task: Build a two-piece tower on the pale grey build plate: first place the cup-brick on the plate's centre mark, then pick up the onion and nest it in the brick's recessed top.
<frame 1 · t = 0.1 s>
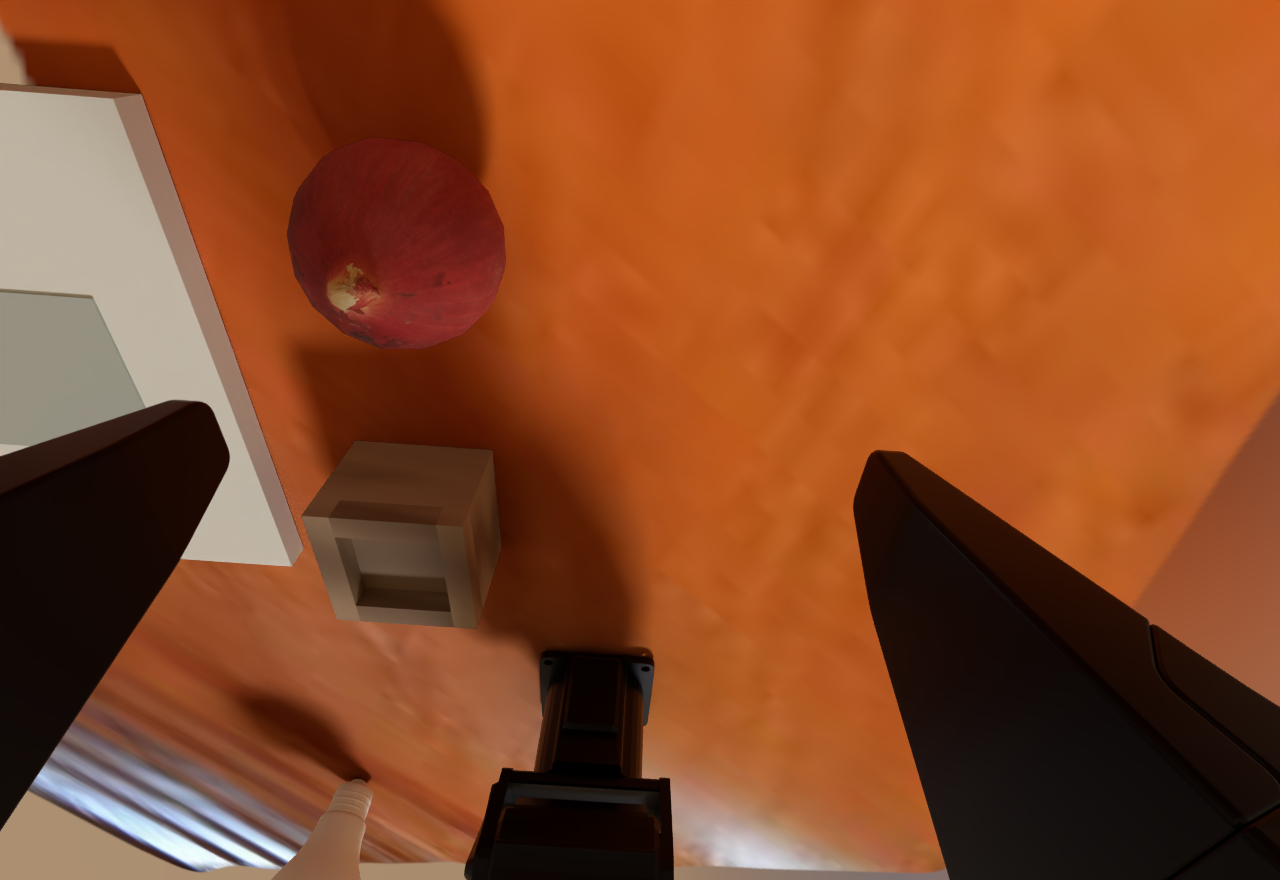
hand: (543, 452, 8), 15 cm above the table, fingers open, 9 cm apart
cup brick: (433, 495, 29), on the table
build plate: (68, 361, 25), on the table
lightbulb: (360, 777, 45), on the table
onion: (443, 212, 21), on the table
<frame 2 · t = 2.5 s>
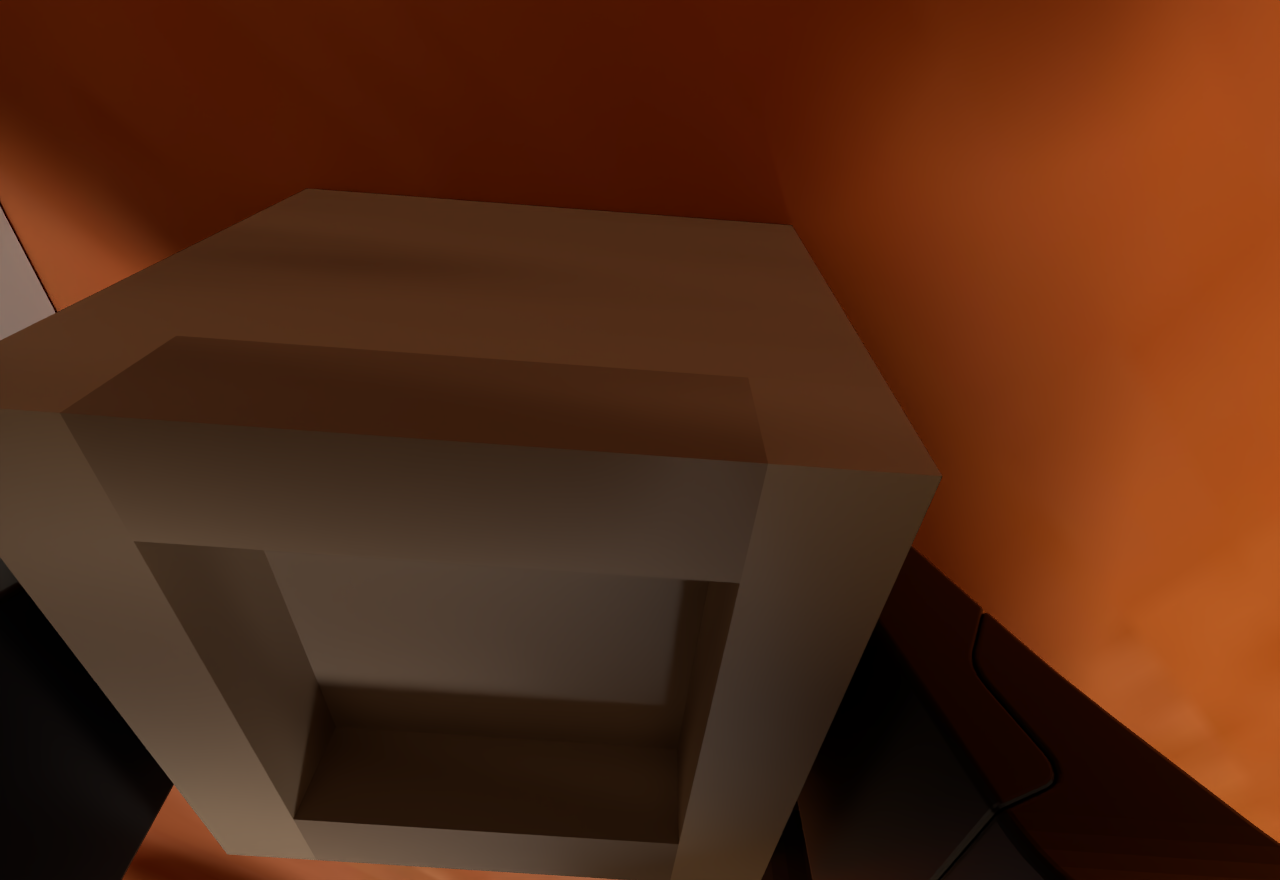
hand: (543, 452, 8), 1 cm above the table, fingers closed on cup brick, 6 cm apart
cup brick: (554, 411, 9), on the table, touching gripper
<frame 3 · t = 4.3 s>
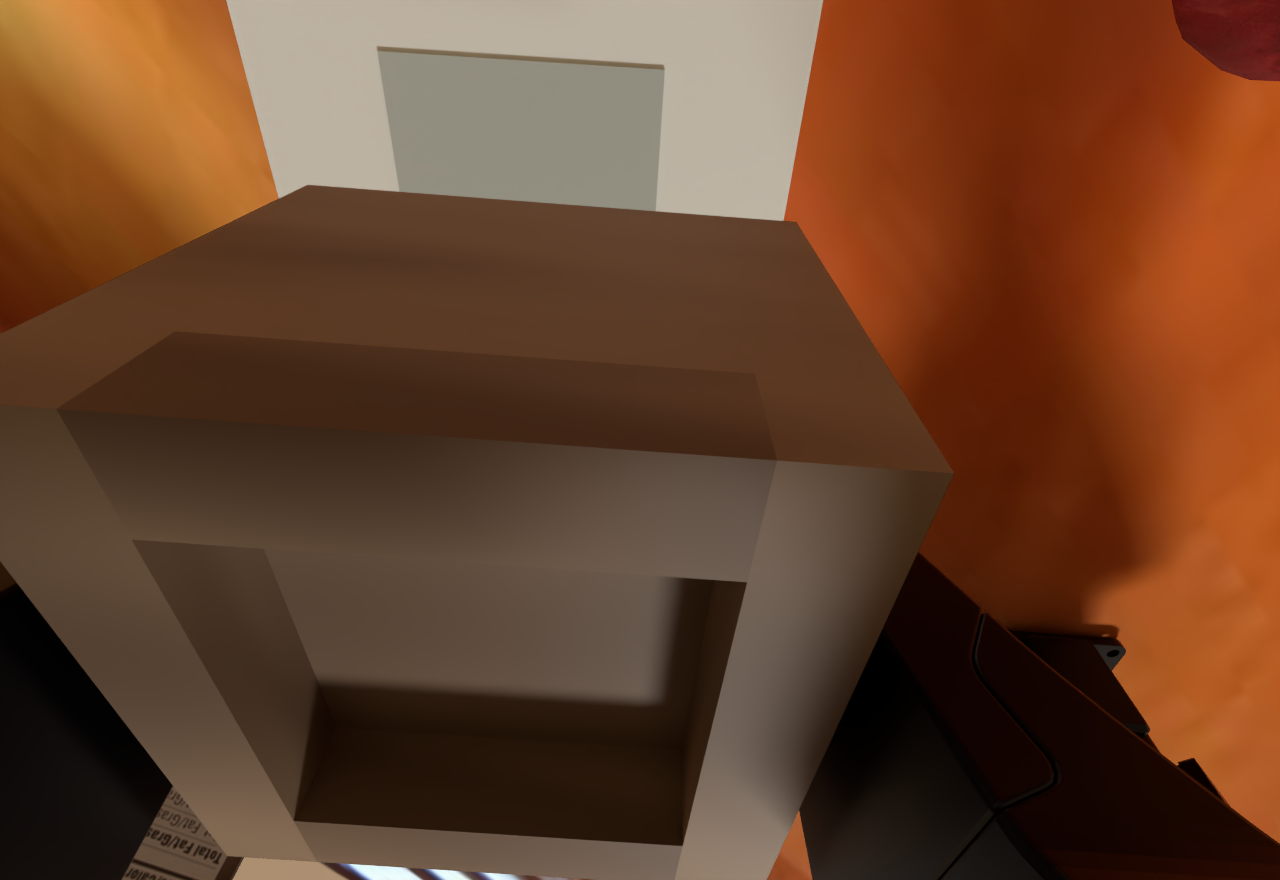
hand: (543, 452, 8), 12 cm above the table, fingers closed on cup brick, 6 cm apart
cup brick: (556, 409, 9), point 11 cm above the table, touching gripper
build plate: (536, 199, 18), on the table
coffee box: (317, 526, 26), on the table
when the fingers open (3 cm above the table, at t = 6.5 s): cup brick stays where it is, resting on build plate.
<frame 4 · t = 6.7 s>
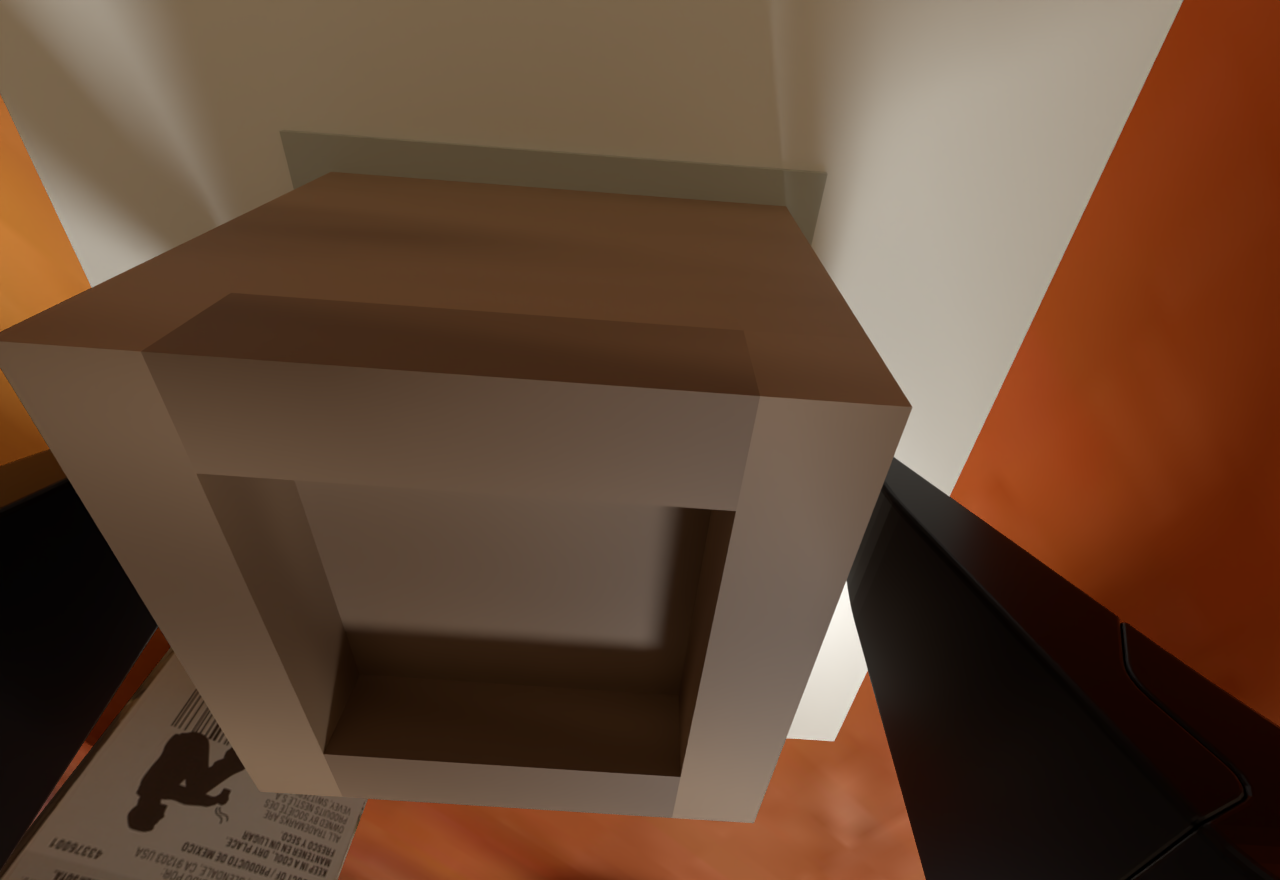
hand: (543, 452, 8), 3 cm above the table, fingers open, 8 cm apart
cup brick: (561, 386, 10), point 1 cm above the table, touching build plate
build plate: (568, 352, 11), on the table
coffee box: (249, 728, 19), on the table
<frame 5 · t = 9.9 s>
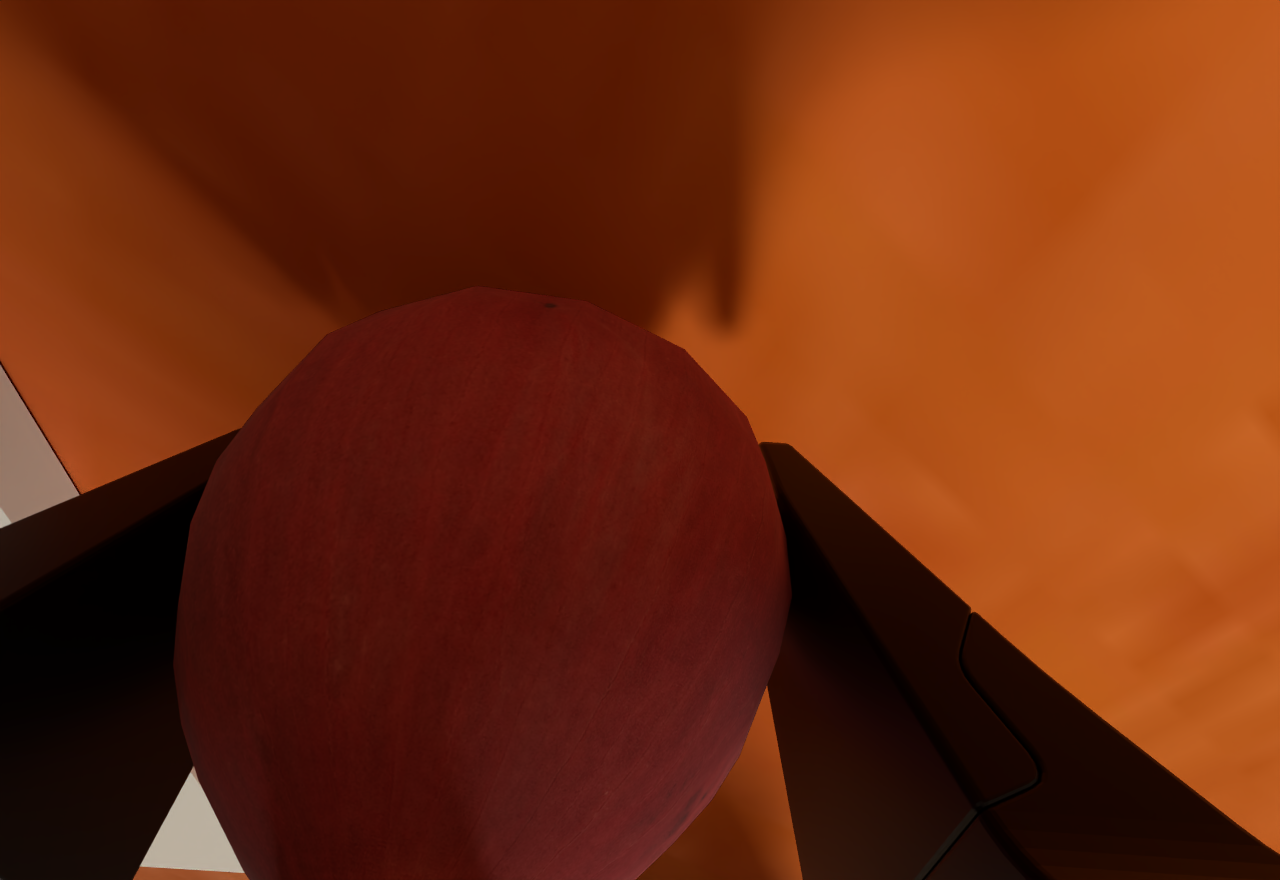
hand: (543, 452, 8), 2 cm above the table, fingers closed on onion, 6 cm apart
onion: (561, 384, 10), on the table, touching gripper
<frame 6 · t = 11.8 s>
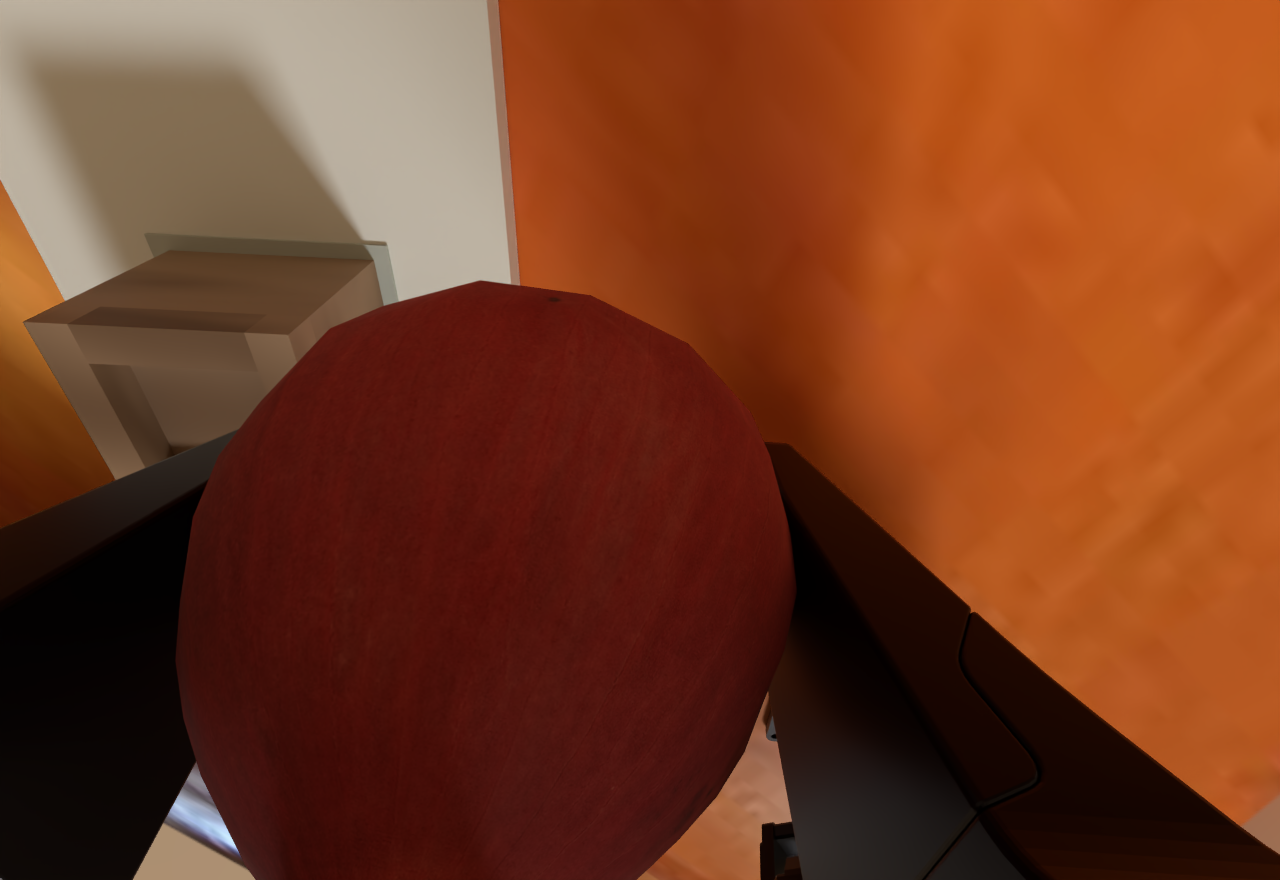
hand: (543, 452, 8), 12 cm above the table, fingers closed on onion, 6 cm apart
cup brick: (300, 347, 20), point 1 cm above the table, touching build plate
build plate: (318, 331, 21), on the table
onion: (563, 381, 10), point 10 cm above the table, touching gripper
when the fingers open (8 cm above the table, at t = 13.7 s): onion drops 1 cm, resting on cup brick.
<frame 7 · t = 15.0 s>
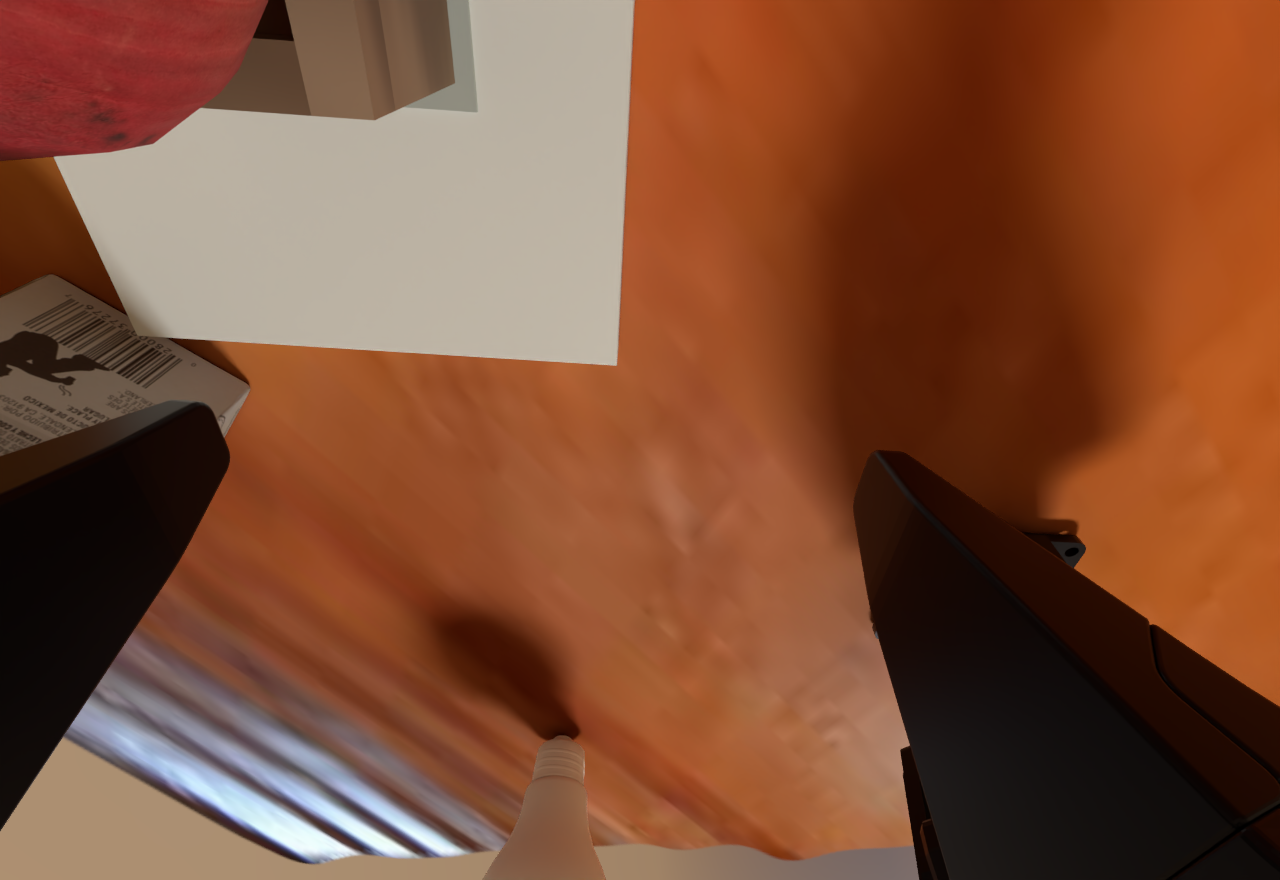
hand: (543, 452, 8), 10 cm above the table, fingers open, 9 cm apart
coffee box: (126, 415, 21), on the table
lightbulb: (563, 734, 33), on the table
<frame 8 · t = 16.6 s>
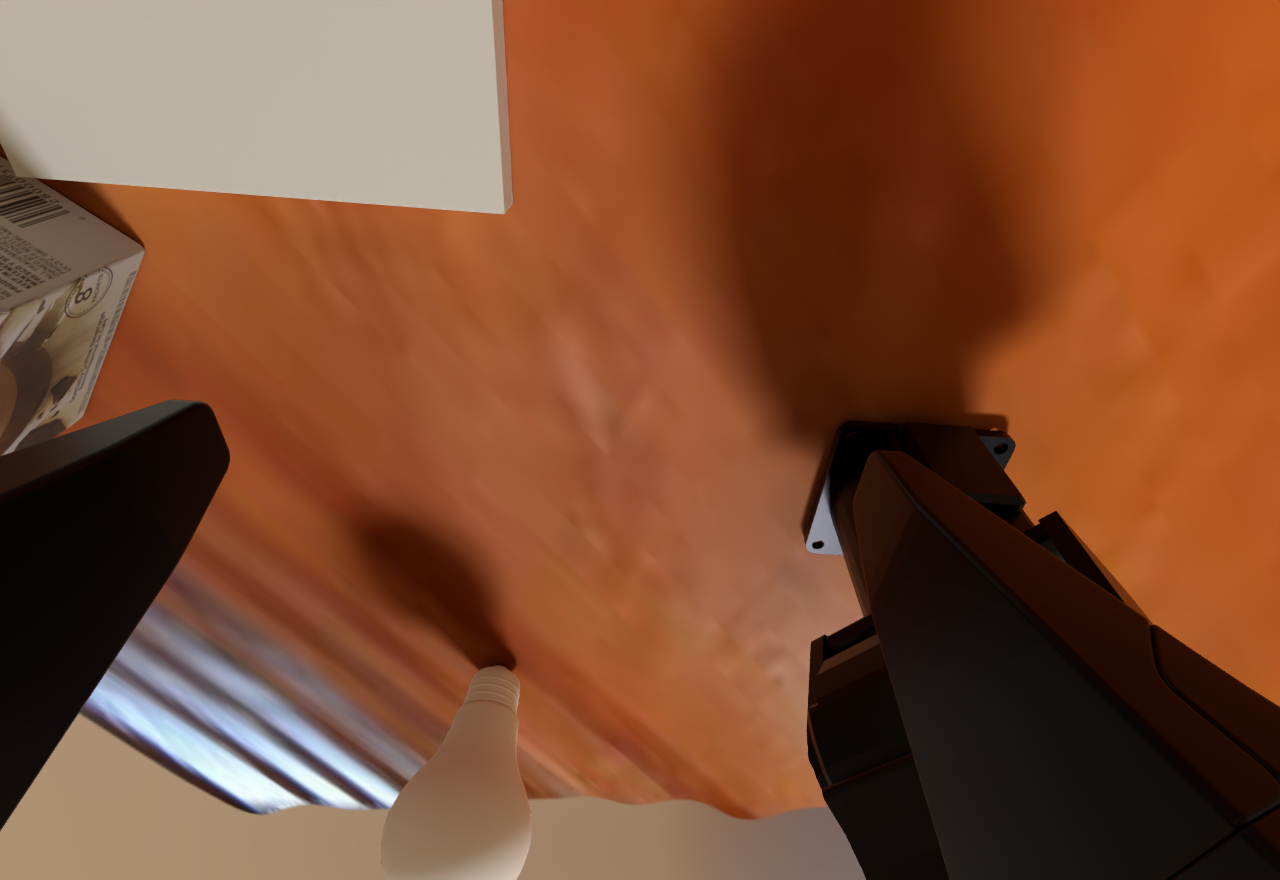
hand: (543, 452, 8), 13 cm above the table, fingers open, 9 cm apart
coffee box: (25, 284, 21), on the table
lightbulb: (500, 665, 33), on the table
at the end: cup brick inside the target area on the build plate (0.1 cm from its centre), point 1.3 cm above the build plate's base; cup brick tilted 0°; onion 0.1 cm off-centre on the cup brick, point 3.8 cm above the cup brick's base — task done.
